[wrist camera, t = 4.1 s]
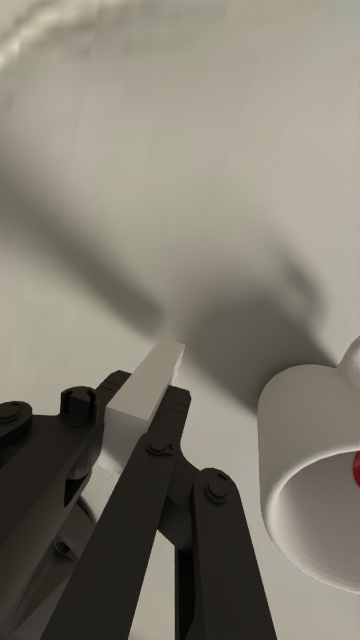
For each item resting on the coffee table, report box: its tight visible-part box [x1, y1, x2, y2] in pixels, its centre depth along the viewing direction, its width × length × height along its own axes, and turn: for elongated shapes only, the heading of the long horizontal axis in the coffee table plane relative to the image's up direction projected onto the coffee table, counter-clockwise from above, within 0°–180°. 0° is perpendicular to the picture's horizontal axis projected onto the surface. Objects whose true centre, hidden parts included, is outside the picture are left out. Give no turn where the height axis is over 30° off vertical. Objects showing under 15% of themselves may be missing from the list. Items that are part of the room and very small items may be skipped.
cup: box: [257, 336, 360, 594], centre depth 12 cm, size 11×8×8 cm
